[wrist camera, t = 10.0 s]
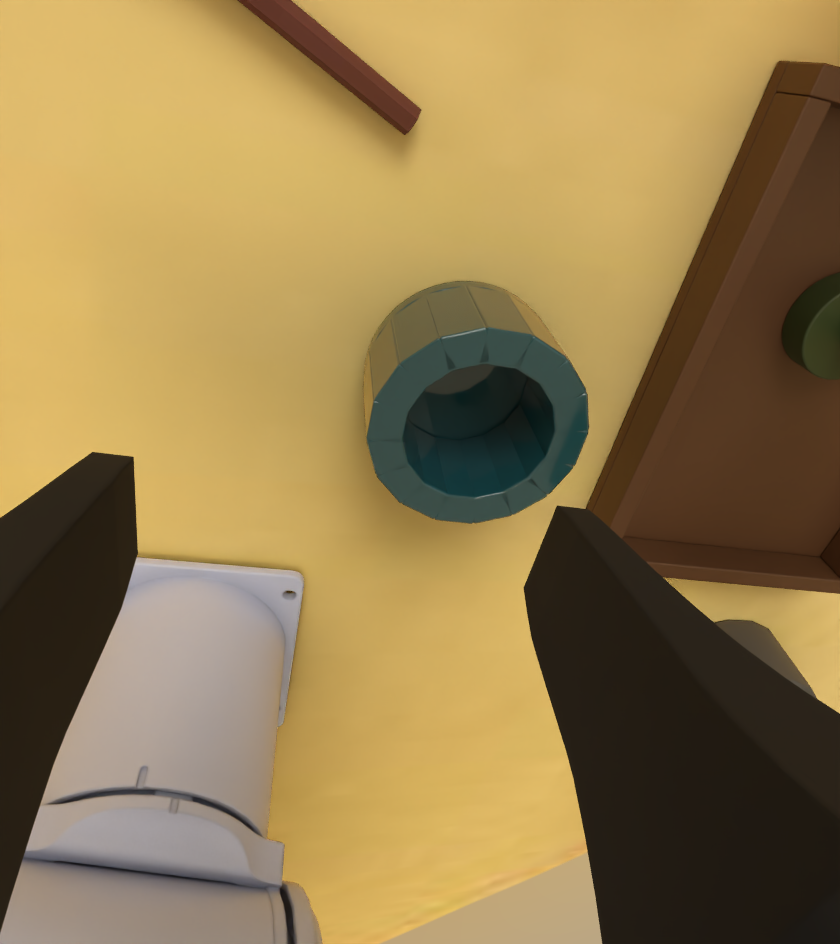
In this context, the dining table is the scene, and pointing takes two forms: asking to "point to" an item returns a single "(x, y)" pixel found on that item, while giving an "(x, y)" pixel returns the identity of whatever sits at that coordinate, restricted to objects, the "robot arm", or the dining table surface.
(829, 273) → the tray
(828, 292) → the rose
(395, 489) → the vase
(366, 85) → the brown piece
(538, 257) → the dining table surface
